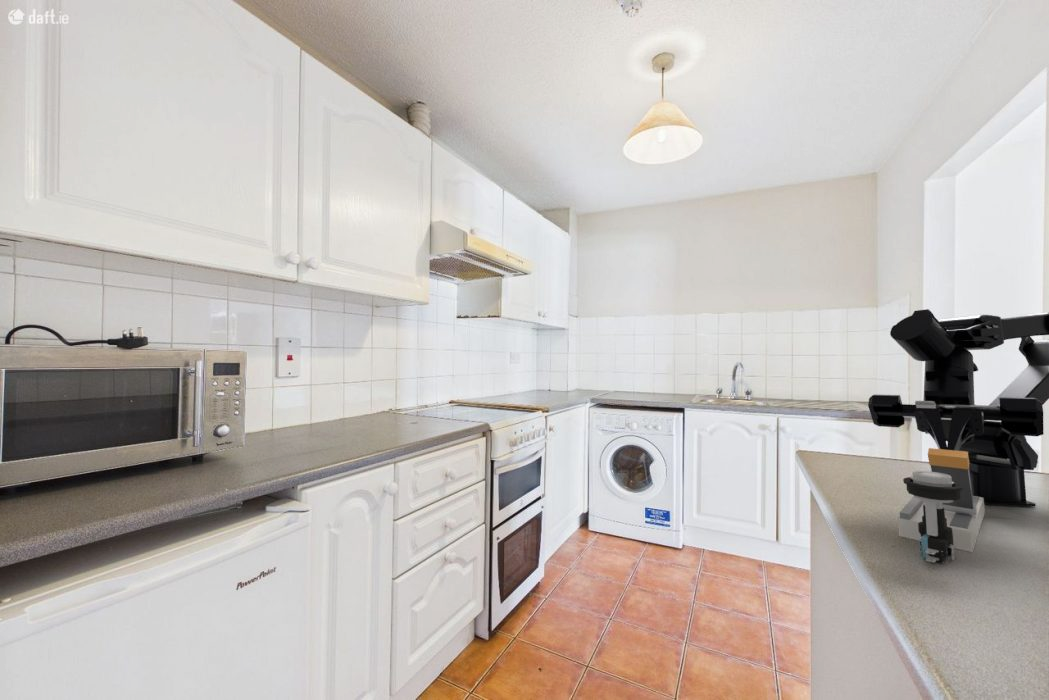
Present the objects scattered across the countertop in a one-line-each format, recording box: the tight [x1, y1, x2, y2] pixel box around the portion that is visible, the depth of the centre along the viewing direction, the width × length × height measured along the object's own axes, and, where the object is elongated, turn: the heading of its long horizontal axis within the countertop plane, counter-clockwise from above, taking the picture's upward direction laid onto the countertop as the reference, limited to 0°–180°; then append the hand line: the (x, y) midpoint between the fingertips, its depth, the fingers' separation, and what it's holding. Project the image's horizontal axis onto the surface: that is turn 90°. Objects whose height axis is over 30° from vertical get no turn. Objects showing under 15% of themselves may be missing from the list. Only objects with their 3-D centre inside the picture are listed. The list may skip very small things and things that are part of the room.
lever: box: [927, 447, 977, 516], centre depth 59 cm, size 2×4×10 cm, turn 42°
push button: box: [902, 470, 963, 564], centre depth 52 cm, size 7×5×10 cm
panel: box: [897, 495, 986, 553], centre depth 63 cm, size 20×7×3 cm, turn 130°
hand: (947, 459), depth 62 cm, fingers closed
